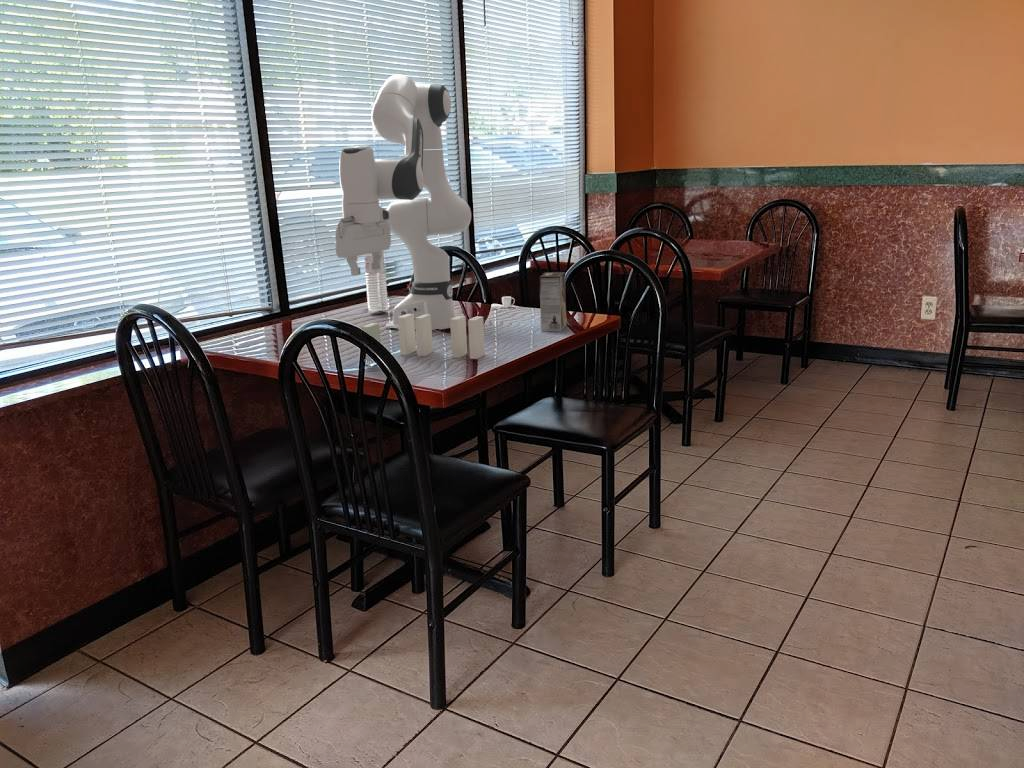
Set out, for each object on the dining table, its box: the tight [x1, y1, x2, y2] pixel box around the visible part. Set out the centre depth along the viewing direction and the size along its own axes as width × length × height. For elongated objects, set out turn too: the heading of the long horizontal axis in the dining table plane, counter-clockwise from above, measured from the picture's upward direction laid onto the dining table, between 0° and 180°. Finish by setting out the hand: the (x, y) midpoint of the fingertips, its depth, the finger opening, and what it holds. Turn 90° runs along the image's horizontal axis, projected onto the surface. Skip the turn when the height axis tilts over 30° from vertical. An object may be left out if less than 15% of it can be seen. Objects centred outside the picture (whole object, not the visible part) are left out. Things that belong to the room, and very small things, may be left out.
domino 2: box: [398, 314, 417, 356], centre depth 219 cm, size 2×5×10 cm, turn 159°
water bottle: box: [363, 250, 389, 313], centre depth 281 cm, size 7×7×25 cm
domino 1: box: [361, 322, 382, 362], centre depth 208 cm, size 2×5×10 cm, turn 159°
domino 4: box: [450, 315, 468, 359], centre depth 213 cm, size 2×5×10 cm, turn 159°
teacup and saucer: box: [491, 295, 519, 311], centre depth 279 cm, size 9×8×4 cm
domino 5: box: [467, 315, 486, 360], centre depth 211 cm, size 2×5×10 cm, turn 159°
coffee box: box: [538, 271, 567, 332], centre depth 242 cm, size 9×6×16 cm
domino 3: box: [415, 314, 434, 357], centre depth 217 cm, size 2×5×10 cm, turn 159°
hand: (366, 272), depth 203 cm, fingers open, 8 cm apart
